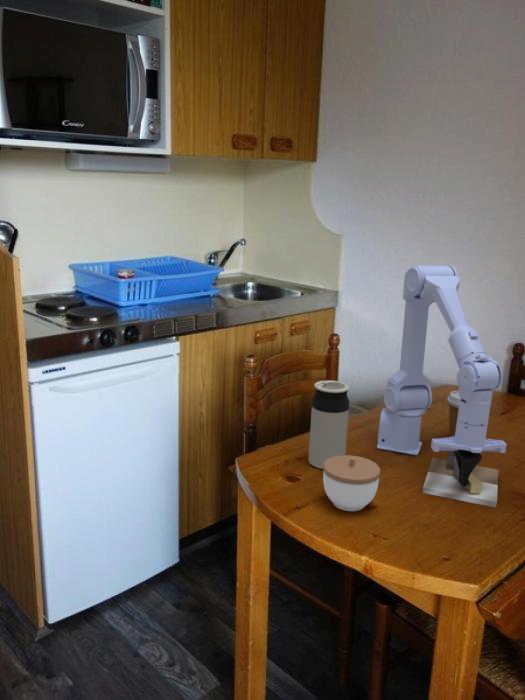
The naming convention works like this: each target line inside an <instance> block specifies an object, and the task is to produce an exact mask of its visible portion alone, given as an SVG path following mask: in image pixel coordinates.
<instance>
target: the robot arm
mask: <svg viewBox="0 0 525 700" xmlns="http://www.w3.org/2000/svg"><path fill="white" fill-rule="evenodd" d="M403 279H404V281H403V291H402V293H403V294H402V299H403V300H404V301H405V302H404V303H405V304H404V313H403V314H404V315H403V327H402V337H401V339H402V340H401V350H400V351H401V352H400V363H399V370H397V372H395V373H393V374H392V375H391V376H389V377H388V378H387V384H386V388H385V390H384V392H383V401H384V404H385V408H384V407H383V408H382V410H381V413H380V416H379V417H380V419H379V424H378V425H379V426H378V435H377V444H376V445H377V446H376V449H380V450H385V451H389V452H397V453H401V454H407V455H412V456H418V455H419V453H420V450H421V448H422V445H423V444H422V443H423V442H422V441H420V437H421V426H422V419H423V418H422V417H423V414H424V415H425V414H426V410H428V409H429V408H430V406H431V405H432V401H433V395H432V394H433V393H432V388H431V386H432V382H431V380H430V379H429V377H427V375H425V374H424V364H425V352H426V351H425V350H426V341H427V331H428V321H429V312H430V311H429V310H430V309H429V308H430V306H432V304H433V303H435V304H436V305H437V307H438V309H439V311H440V313H441V315H442V316H443V319H444V321H445V323H446V325H447V327H448V329H449V331H450V334H449V336H448V343H449V346H450V348H451V350H452V353H453V356H454V358H455V361H456V364H457V367H458V371H456V381H457V384H458V390H457V391H458V394H459V397H460V403H459V410H458V417H457V425H456V431H455V436H454V437H448V436H447V437H441V438H432V439H431V445H430V448H431V450H432V451H433V452H434V453H435V452H437V453H438V452H440V451H447V452H449V451H451V452H454V454H455V457H456V462H457V463H458V468H459V475H458V482H459V483H460V484H461V485H462V486H466V485H467V482H468V480H469V476H470V474H471V472H472V471H473V469H474V468H475V467H476V466H478V464H479V463H481V461H482V454H481V453H482V452H499V453H501V454H506V452H507V443H506V442H505V441H504V440H503V439H492V438H486V436H487V431H488V425H489V418H490V412H491V405H492V398H493V394H494V391H495V390H497V389H498V388H499V387H500V386H501V384H502V380H503V374H502V373H503V372H502V370H501V369H502V368H501V366H500V364H499V362H497V361H496V360H494V359H493V358H492V357H491V356H490V355H488V354H487V352H486V350H485V347H484V345H483V342H482V339H481V337H480V336H479V333H478V331H477V329H476V328H473V327H472V326H469V325H468V322H467V318H466V315H465V312H464V308H463V305H462V303H461V300H460V297H459V293H458V291H459V288H460V284H461V283H460V282H461V280H460V278H459V273H458V271H457V269H456V268H455V266H453V265H451V264H449V265H448V264H446V265H418V264H413V265H411V266H410V267H409V268H408V269H407V271H406V272H404V278H403Z"/></svg>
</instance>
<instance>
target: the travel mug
mask: <svg viewBox="0 0 525 700" xmlns="http://www.w3.org/2000/svg"><path fill="white" fill-rule="evenodd" d="M313 385H314V386H313V387H314V389H315V394H314V395H313V396H312V400H311V413H310V414H311V415H310V428H309V429H310V430H309V432H310V433H309V442H308V443H309V445H308V447H309V448H308V463H309V465H312V466H313V467H315V468H317V469H321V470H323V465H324V462H325V461H326V460H327V459H329V458H331V457H334V456H340V455H346V450H347V449H346V448H347V437H348V426H349V425H348V424H349V414H350V413H349V411H350V399H349V397H348V392H349V390H350V386H349V385H348V384H347V383H345V382H341V381H339V380H331V379H330V380H329V379H328V380H320V381H317V382H315V383H314V384H313Z"/></svg>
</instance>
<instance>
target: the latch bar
mask: <svg viewBox="0 0 525 700" xmlns="http://www.w3.org/2000/svg"><path fill="white" fill-rule="evenodd" d="M458 475H459V468H458V463H457V461H456V462H455V464H454V472H453V476H454V477H456V478H458ZM464 487H465V488H466V489H467V490H468V491H469V492H470V493H481V489H482V483H481V482H480V481H479V480H478V479H477V478H476V477H475V476H474V475H473V474H472V473H471V474H470V476H469V480H468V482H467V485H466V486H464Z"/></svg>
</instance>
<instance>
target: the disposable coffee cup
mask: <svg viewBox="0 0 525 700" xmlns="http://www.w3.org/2000/svg"><path fill="white" fill-rule="evenodd" d="M446 398H447V402H448V417H449V418H448V419H449V420H448V426H449V428H448V430H449V431H448V432H449V434H448V435H449V437H454V436H455V431H456V425H457V417H458V410H459V403H460V397H459V394H458V390H453V391H451V392H450V393H449V395H448V397H446Z"/></svg>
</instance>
